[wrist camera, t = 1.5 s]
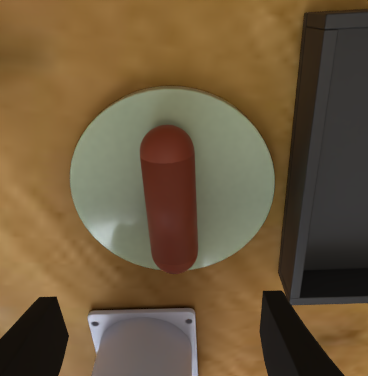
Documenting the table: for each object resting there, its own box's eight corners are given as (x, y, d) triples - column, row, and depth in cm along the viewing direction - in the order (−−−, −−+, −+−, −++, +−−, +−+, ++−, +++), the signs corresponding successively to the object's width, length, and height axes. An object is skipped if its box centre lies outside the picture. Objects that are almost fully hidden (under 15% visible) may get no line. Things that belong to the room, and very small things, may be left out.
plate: (265, 260, 24) (268, 268, 23) (92, 266, 24) (89, 274, 23) (279, 80, 18) (283, 83, 17) (53, 91, 18) (47, 94, 18)
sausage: (198, 252, 22) (199, 283, 20) (155, 254, 22) (151, 285, 20) (193, 116, 18) (194, 133, 16) (140, 118, 18) (132, 136, 16)
